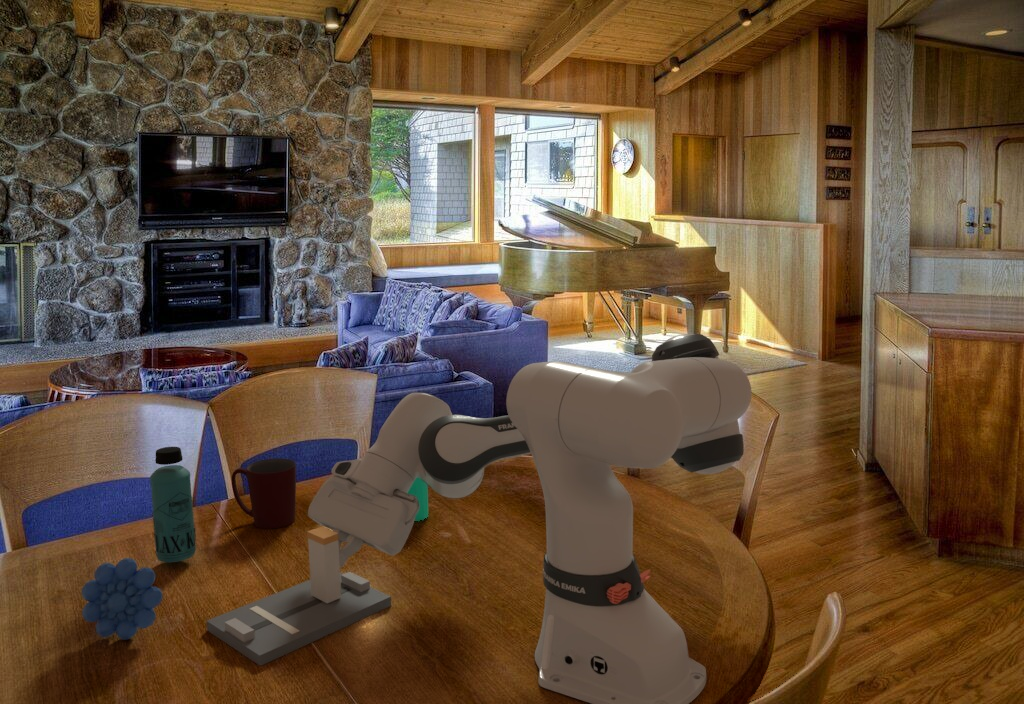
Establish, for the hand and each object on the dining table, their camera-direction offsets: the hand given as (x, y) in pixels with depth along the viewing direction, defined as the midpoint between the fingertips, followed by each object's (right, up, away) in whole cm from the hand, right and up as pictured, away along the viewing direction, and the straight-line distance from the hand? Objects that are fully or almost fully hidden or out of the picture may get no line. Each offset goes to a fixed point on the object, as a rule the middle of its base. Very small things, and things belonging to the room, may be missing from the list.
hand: (332, 562), depth 128 cm
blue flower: (-27, -8, -8) cm, 29 cm away
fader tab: (-1, -5, -1) cm, 5 cm away
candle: (+8, 0, +35) cm, 36 cm away
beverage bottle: (-29, -4, +15) cm, 33 cm away
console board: (-4, -7, -4) cm, 9 cm away
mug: (-19, -1, +33) cm, 38 cm away
